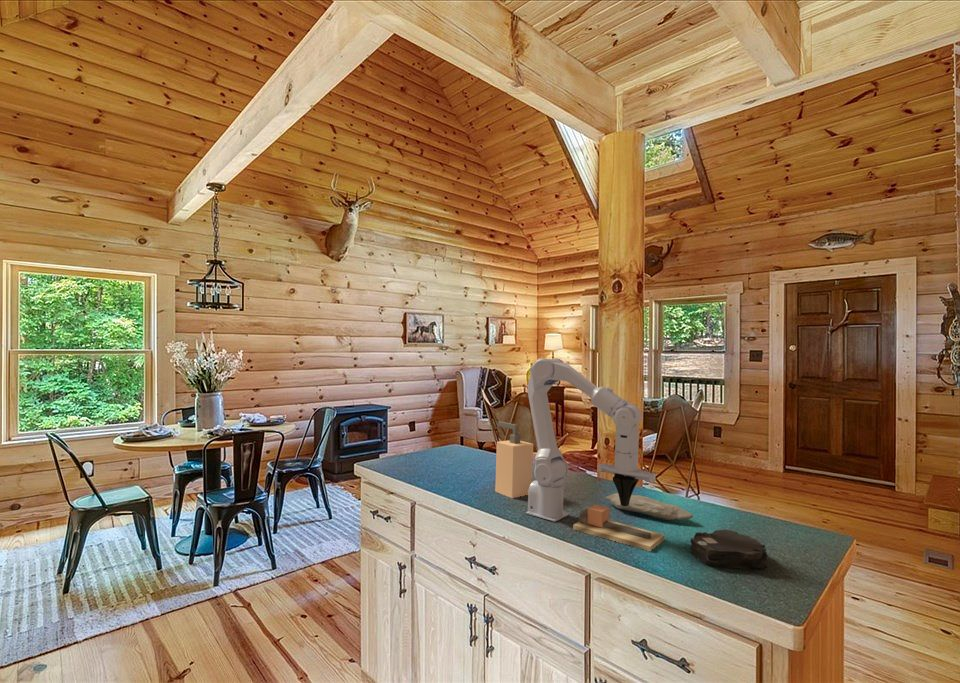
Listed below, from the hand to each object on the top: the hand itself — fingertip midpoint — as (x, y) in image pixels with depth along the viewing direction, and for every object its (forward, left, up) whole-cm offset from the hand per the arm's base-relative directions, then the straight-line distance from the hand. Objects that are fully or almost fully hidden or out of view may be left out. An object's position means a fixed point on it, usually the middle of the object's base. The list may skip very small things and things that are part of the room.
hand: (624, 505), depth 122 cm
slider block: (-6, -2, -6) cm, 9 cm away
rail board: (-1, -2, -7) cm, 8 cm away
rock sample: (+24, +2, -8) cm, 25 cm away
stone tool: (-1, +20, -8) cm, 22 cm away
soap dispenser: (-43, +9, -8) cm, 45 cm away
